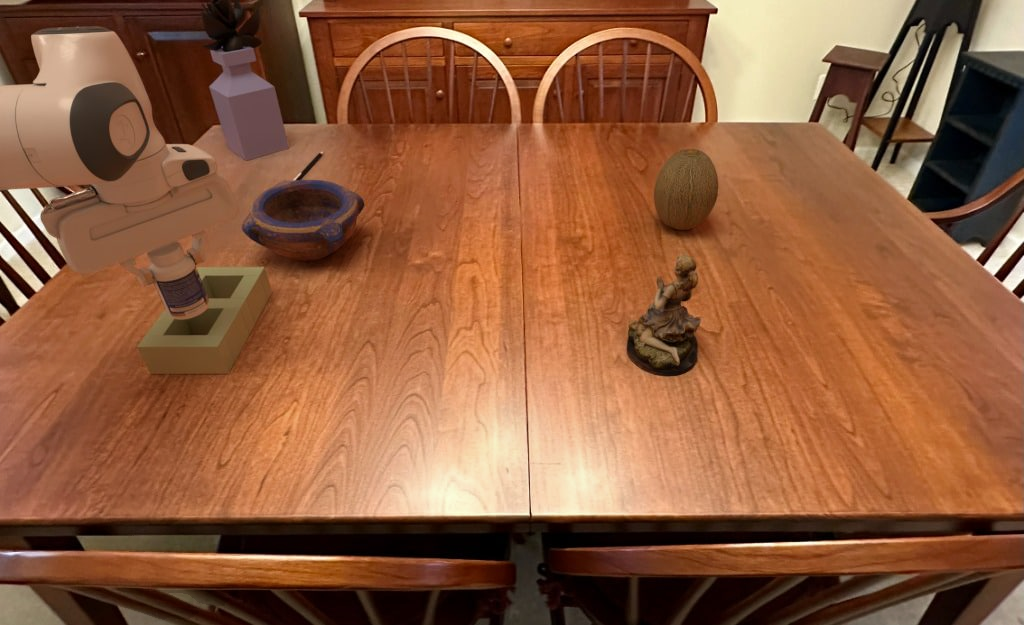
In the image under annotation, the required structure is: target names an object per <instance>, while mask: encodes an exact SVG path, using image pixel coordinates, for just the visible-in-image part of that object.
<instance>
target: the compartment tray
mask: <svg viewBox="0 0 1024 625" xmlns="http://www.w3.org/2000/svg"><path fill="white" fill-rule="evenodd" d="M196 268H197V270H198V273H199V276H200V278H201V281H202V283H203V286H204V289H205V291H206V293H207V296H208V299H209V307H208V308H207V309H206V310H205V311H204V312H203V313H201V314H200V315H198V316H196V317H193V318H190V319H184V320H179V319H174V318H172V317H170V316H169V315H168V313H167V311H166V309H165V308H164V310H163V311H162V312H161V314H160V315H159V317H158V318H157V319H156V321H155V322H154V323H153V325H152V326H151V327H150V328H149V330H148V331H147V332H146V334H145V335H144V336H143V338H142V339H141V341H140V342H139V343H138V344H137V346H136V349H137V350H138V353H139V354H140V356H141V358H142V361H143V362H144V364H145V367H146V368H147V369H148V372H149V373H150V375H229V374H230V372H231V370H232V369H233V367H234V365H235V363H236V361H237V359H238V358H239V356H240V354H241V351H242V349H243V348H244V346H245V344H246V343H247V341H248V339H249V337H250V335H251V333H252V331H253V329H254V328H255V325H256V323H257V322H258V320H259V318H260V316H261V314H262V313H263V311H264V309H265V307H266V305H267V304H268V301H269V299H270V297H271V296H272V294H273V290H272V287H271V284H270V280H269V277H268V274H267V270H266V267H265V266H196Z"/></svg>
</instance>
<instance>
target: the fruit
mask: <svg viewBox="0 0 1024 625" xmlns="http://www.w3.org/2000/svg"><path fill="white" fill-rule="evenodd" d="M718 195H719V176H718V173H717V170H716V166H715V164H714V163H713V161H712V159H711V158H710V156H709V155H708V154H707V153H705V152H704V151H702V150H700V149H695V148H685V149H681V150H678V151H677V152H675V153H673V154H672V155H671V156H670V157H668V159H667V160H666V161H665V162H664V164H663V165H662V167H661V169H660V171H659V172H658V175H657V178H656V181H655V184H654V190H653V202H654V207H655V210H656V213H657V215H658V217H659V219H660V220H661V221H662V222H663V224H664V225H666V226H667V227H669V228H671V229H673V230H674V229H675V230H680V231H681V230H683V231H684V230H689V229H690V230H691V229H693V228H695V227H697V226H699V225H700V224H702V223H703V222H704V221H705V220H706V219H708V217H709V216H710V214H711V213H712V211H713V209H714V208H715V206H716V203H717V200H718Z"/></svg>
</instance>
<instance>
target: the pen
mask: <svg viewBox="0 0 1024 625" xmlns="http://www.w3.org/2000/svg"><path fill="white" fill-rule="evenodd" d="M323 154H324V151H320V152H319V153H318V154H316V155H315V157H314V158H313V159H312V160H311V161H310V162H309V163H308V164H307V165H306V166H305V168H304V169H303V170H302V171H301V172H298V174H297V175H296V176H295V177H294V178H293V180H302V178H303V177H305V175H306V174H307V173H308V172H309V171H310V170H311V169H312V167H313V166H315V164H317V162H318V161H319V159H321V158H322V156H323Z"/></svg>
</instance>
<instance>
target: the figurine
mask: <svg viewBox="0 0 1024 625" xmlns="http://www.w3.org/2000/svg"><path fill="white" fill-rule="evenodd" d="M697 267H698V266H697V262H696V260H695V258H693V257H692V256H690V255H688V254H686V253H680V254H679V255H678V256H677V259H676V262H675V266H674V267H673V272H674V273H673V274H674V275H675V277H676V280H675V281H673V282H670V283H668V284H665V282H664V280H663V278H662V276H661V275H660V276H659V275H658V276H657V278H656V286H657V290H656V293H655V295H654V301H653V303H651V304H650V305H648V308H647V311H646V312H645V313H644V314H642V315H640V316H638V320H634V319H633V320H630V321H629V323H628V331H627V335H628V337H627V342H626V355H627V357H628V358H629V360H630V361H631V362H632V363H634V365H636V366H637V367H638V368H639V369H641V370H643V371H645V372H646V373H649V374H652V375H654V376H655V375H656V376H662V377H675V376H680V375H683V374H686V373H688V372H689V371H691V370H692V369H693V368H694V367H695V366H696V364H697V362H698V352H699V351H698V350H699V348H698V347H699V345H698V339H697V337H696V334H695V333H696V332H697V330H698V328H699V327H700V325H701V322H702V318H701V317H700V316H697V317H694V315H693V314H690V313H689V311H688V307H686V306H684V305H682V302H683V303H685V302H688V301H690V300H691V298H692V295H693V289H695V288H696V287H697V285H698V284H699V275H698V272H697V271H696V270H697Z"/></svg>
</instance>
